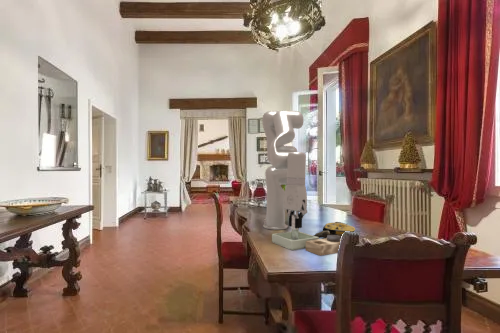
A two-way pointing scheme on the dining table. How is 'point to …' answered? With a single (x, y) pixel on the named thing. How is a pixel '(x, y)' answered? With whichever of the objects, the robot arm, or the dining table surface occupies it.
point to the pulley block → (335, 229)
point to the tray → (288, 243)
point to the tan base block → (324, 245)
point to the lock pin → (294, 229)
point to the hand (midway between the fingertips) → (295, 226)
